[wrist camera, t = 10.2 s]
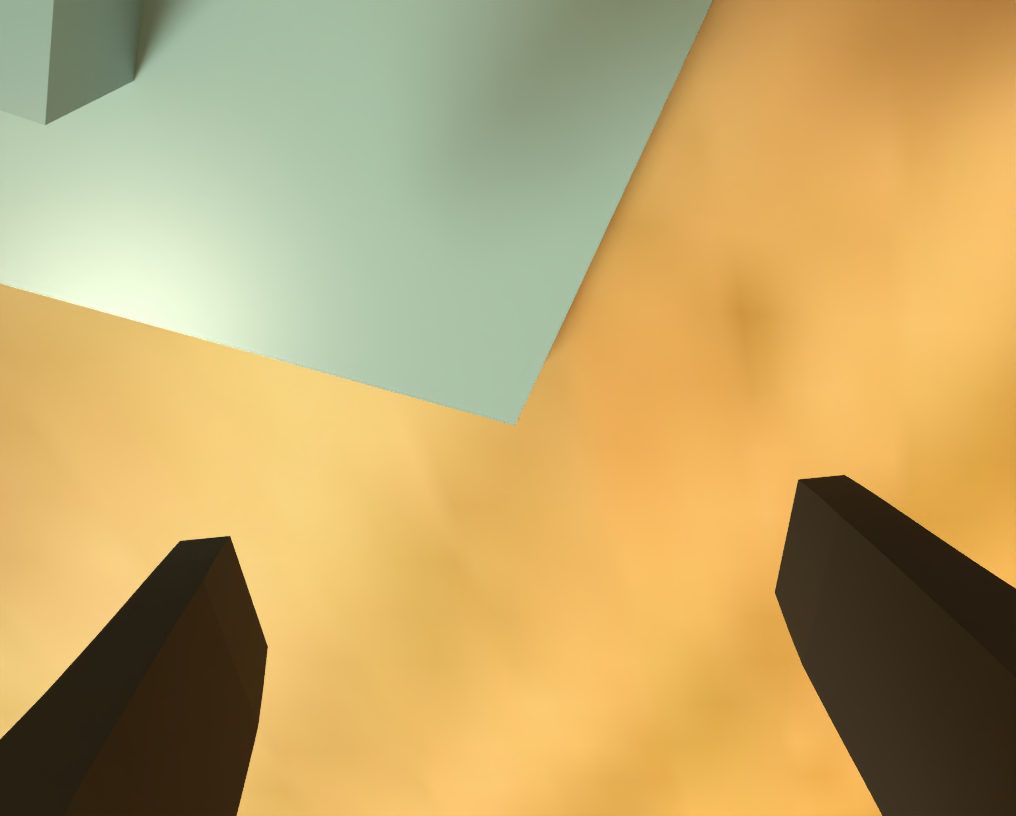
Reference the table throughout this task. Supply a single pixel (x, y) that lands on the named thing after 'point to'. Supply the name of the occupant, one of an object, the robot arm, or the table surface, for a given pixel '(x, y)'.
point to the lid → (332, 172)
